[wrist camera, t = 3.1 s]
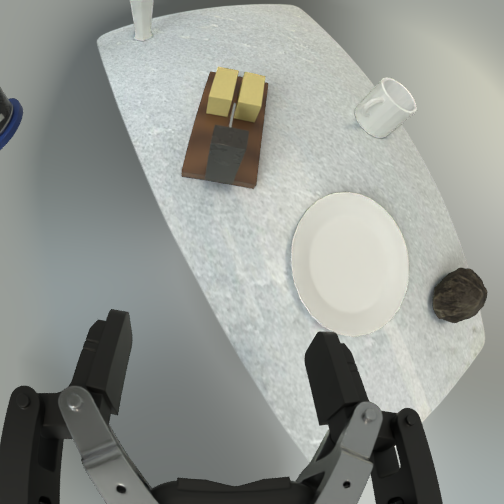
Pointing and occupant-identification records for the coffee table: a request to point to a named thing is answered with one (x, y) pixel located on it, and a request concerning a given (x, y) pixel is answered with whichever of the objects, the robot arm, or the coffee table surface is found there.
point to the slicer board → (206, 122)
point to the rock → (459, 296)
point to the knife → (226, 152)
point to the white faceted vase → (142, 18)
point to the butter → (247, 96)
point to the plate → (350, 264)
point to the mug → (385, 108)
